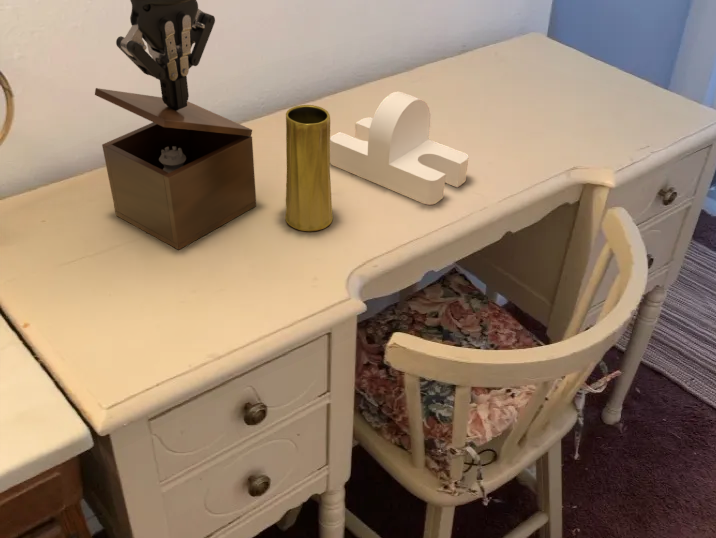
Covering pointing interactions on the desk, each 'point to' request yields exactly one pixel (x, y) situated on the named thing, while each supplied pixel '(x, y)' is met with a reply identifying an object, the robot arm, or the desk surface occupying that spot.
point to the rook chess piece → (172, 159)
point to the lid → (173, 113)
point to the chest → (180, 181)
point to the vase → (308, 168)
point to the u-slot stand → (400, 151)
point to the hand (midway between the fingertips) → (176, 106)
